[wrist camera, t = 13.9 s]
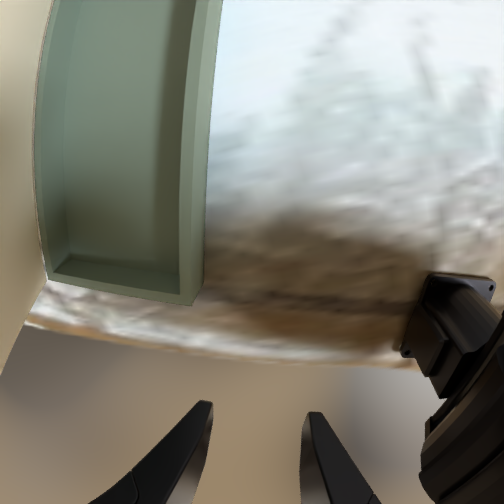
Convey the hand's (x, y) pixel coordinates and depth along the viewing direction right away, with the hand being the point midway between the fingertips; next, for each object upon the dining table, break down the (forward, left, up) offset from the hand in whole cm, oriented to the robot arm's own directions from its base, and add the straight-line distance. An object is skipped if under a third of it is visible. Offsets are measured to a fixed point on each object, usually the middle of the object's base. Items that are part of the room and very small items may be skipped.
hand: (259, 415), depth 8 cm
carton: (+9, -9, -10) cm, 16 cm away
